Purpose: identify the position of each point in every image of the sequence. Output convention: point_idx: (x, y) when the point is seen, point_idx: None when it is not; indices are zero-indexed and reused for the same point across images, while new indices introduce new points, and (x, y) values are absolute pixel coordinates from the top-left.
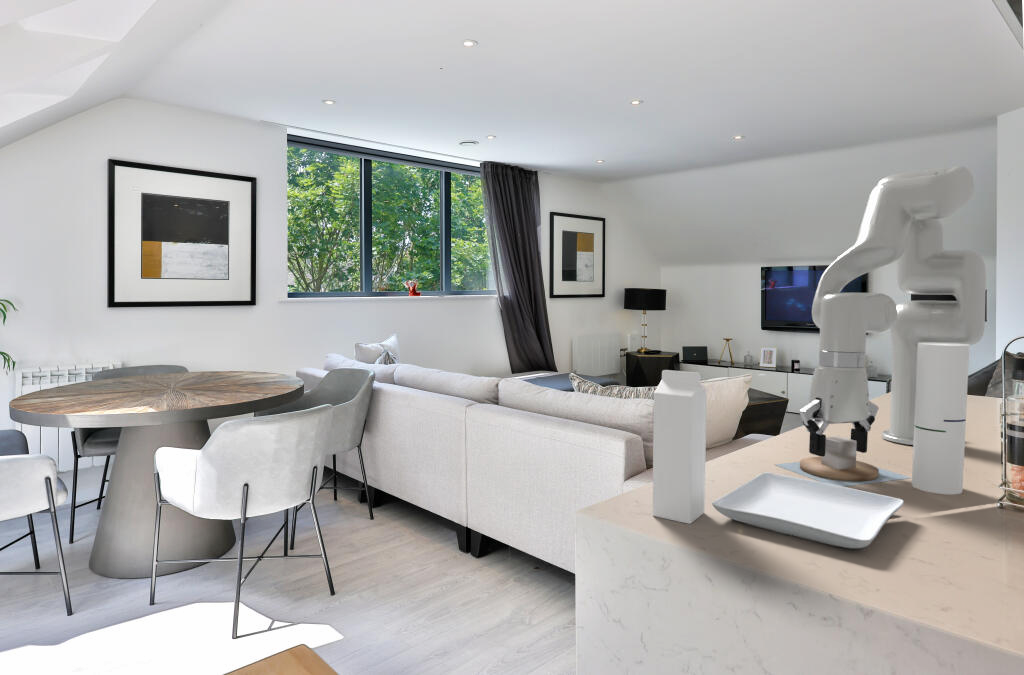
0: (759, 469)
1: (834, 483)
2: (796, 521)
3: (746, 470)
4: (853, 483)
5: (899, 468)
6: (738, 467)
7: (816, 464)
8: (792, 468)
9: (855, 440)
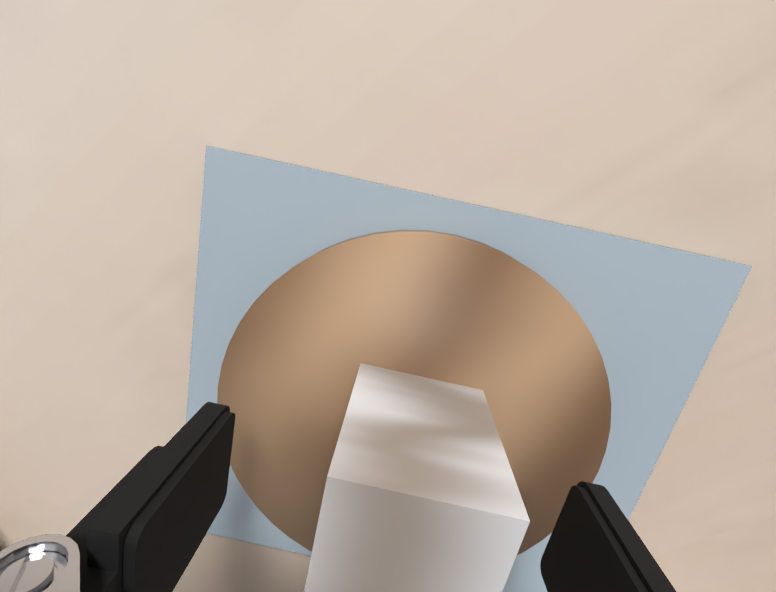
0: (102, 132)
1: None
2: None
3: (17, 105)
4: (287, 536)
5: (764, 505)
6: (9, 26)
7: (329, 352)
8: (238, 259)
9: (591, 583)
